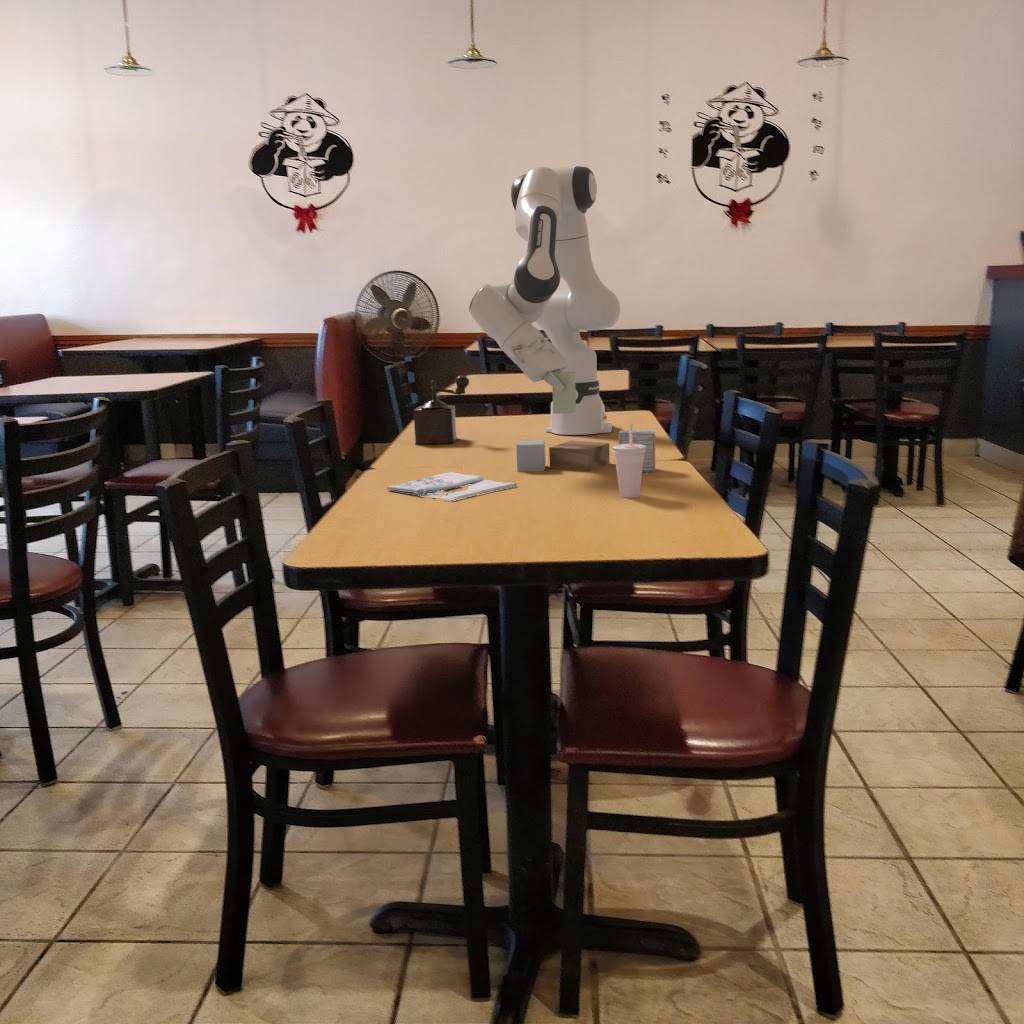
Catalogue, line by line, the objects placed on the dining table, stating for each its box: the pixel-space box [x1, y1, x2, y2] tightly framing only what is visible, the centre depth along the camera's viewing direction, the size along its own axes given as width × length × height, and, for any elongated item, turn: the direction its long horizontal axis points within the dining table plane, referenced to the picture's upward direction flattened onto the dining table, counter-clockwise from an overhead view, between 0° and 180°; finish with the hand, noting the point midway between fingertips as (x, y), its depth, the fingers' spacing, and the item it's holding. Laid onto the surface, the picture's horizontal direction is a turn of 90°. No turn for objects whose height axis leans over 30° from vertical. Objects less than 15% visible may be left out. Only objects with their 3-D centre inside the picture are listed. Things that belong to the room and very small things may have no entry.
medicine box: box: [618, 429, 656, 473], centre depth 208 cm, size 8×4×9 cm, turn 84°
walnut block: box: [548, 440, 611, 472], centre depth 217 cm, size 10×10×5 cm
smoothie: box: [612, 423, 646, 499], centre depth 182 cm, size 6×6×14 cm
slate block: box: [516, 439, 546, 472], centre depth 215 cm, size 6×6×6 cm
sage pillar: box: [552, 371, 576, 414], centre depth 215 cm, size 4×4×9 cm
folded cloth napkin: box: [386, 471, 517, 501], centre depth 196 cm, size 19×20×2 cm
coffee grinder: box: [413, 375, 470, 446], centre depth 258 cm, size 16×11×18 cm
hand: (566, 388), depth 214 cm, fingers closed on sage pillar, 4 cm apart
